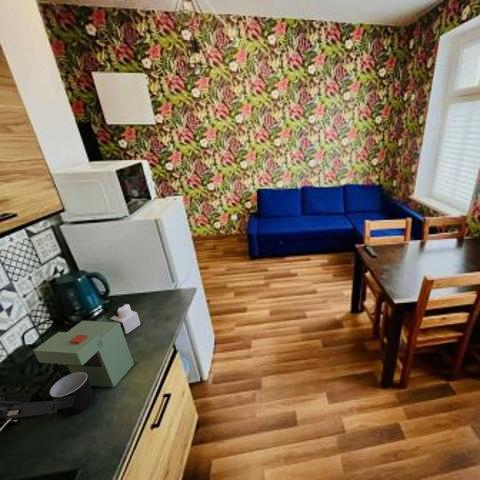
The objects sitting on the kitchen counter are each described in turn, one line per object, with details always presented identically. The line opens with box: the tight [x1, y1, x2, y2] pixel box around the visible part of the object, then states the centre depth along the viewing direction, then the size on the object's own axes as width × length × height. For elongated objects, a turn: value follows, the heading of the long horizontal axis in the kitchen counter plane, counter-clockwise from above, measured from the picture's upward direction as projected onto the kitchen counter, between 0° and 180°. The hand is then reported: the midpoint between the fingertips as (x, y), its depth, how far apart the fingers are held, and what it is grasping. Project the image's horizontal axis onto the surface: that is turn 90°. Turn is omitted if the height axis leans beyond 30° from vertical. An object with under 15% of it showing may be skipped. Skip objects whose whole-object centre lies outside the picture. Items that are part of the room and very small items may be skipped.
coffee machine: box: [32, 320, 135, 388], centre depth 91 cm, size 14×16×23 cm
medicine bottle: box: [110, 302, 141, 335], centre depth 118 cm, size 7×7×12 cm
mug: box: [41, 372, 94, 416], centre depth 84 cm, size 12×9×10 cm
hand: (51, 399), depth 79 cm, fingers open, 13 cm apart
